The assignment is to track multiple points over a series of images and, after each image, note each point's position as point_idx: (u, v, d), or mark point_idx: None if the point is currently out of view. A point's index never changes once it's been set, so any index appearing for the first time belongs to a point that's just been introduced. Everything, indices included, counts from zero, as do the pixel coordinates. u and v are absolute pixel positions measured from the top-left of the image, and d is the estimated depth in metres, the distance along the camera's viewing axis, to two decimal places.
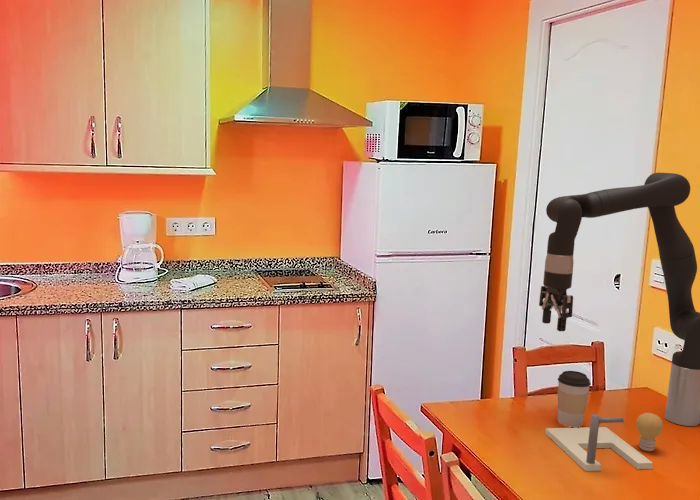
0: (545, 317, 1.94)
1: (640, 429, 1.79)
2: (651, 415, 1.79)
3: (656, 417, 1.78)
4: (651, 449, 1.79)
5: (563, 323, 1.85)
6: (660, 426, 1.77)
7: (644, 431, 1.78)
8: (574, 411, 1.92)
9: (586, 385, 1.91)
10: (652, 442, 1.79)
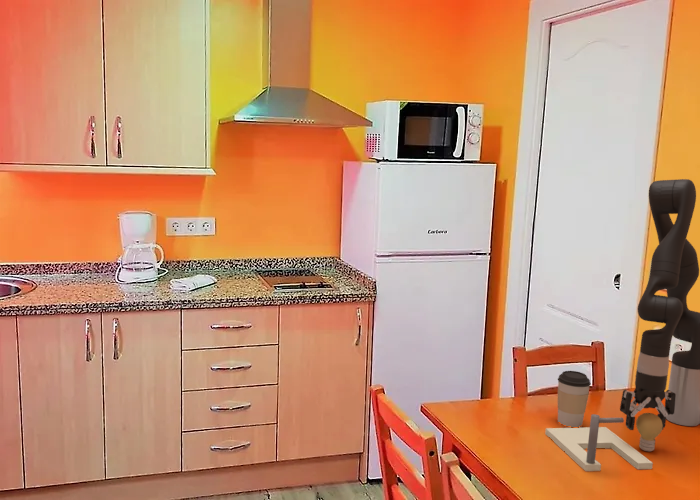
0: None
1: (640, 429, 1.79)
2: (651, 415, 1.79)
3: (656, 417, 1.78)
4: (651, 449, 1.79)
5: None
6: (660, 426, 1.77)
7: (644, 431, 1.78)
8: (574, 411, 1.92)
9: (586, 385, 1.91)
10: (652, 442, 1.79)
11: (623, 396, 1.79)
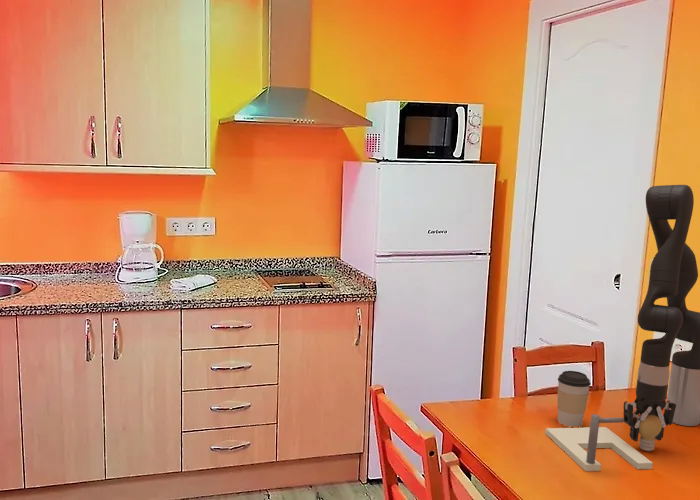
0: None
1: (639, 429, 1.79)
2: (650, 415, 1.79)
3: (655, 417, 1.78)
4: (651, 449, 1.79)
5: None
6: (659, 426, 1.77)
7: (643, 431, 1.78)
8: (574, 411, 1.92)
9: (586, 385, 1.91)
10: (652, 442, 1.79)
11: (625, 408, 1.79)
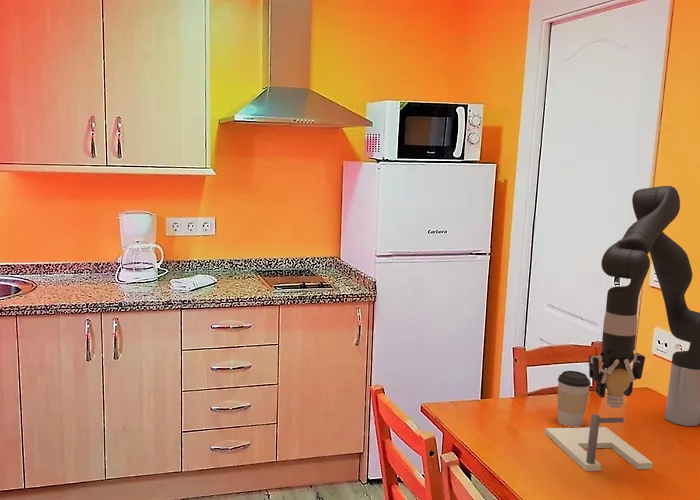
0: None
1: (606, 384, 1.65)
2: None
3: (623, 370, 1.65)
4: (619, 405, 1.66)
5: None
6: (627, 380, 1.64)
7: (610, 386, 1.65)
8: (574, 411, 1.92)
9: (586, 385, 1.91)
10: (620, 397, 1.65)
11: (590, 362, 1.65)
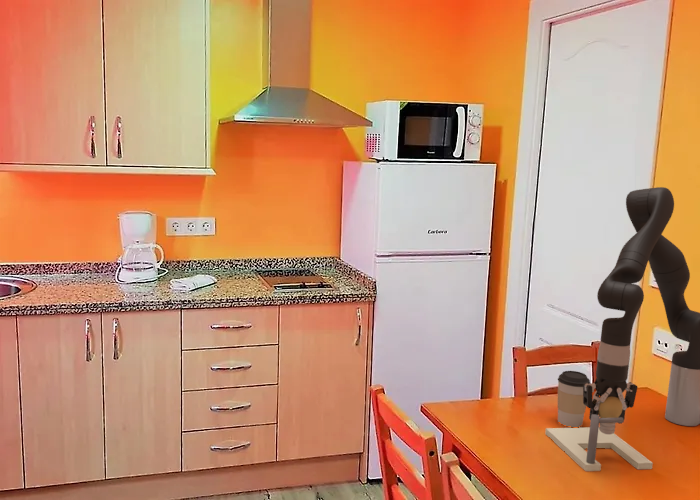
0: None
1: (599, 411, 1.72)
2: None
3: (615, 398, 1.71)
4: (611, 432, 1.72)
5: None
6: (619, 408, 1.70)
7: (603, 413, 1.71)
8: (574, 411, 1.92)
9: None
10: (612, 424, 1.72)
11: (584, 389, 1.72)
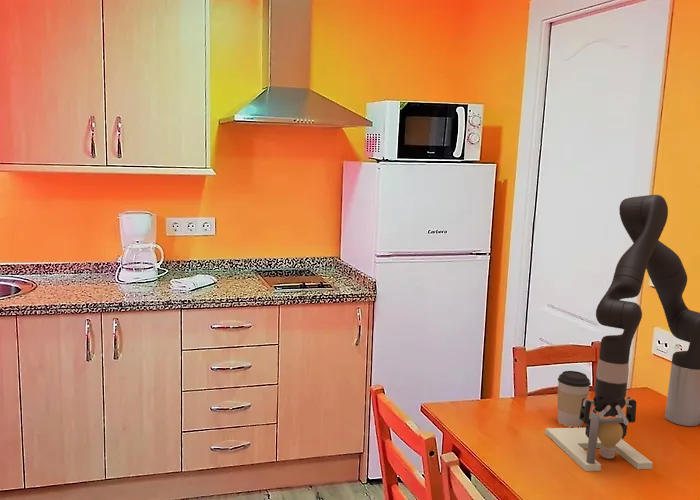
0: None
1: (599, 436, 1.73)
2: None
3: (616, 423, 1.72)
4: (611, 456, 1.73)
5: None
6: (620, 433, 1.71)
7: (603, 438, 1.72)
8: (574, 411, 1.92)
9: (586, 385, 1.91)
10: (612, 449, 1.73)
11: (582, 404, 1.73)
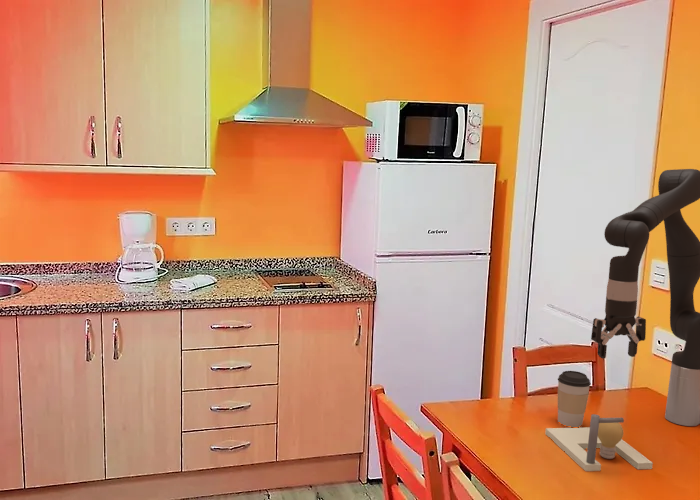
0: None
1: (600, 436, 1.73)
2: None
3: (616, 423, 1.72)
4: (611, 457, 1.73)
5: None
6: (620, 433, 1.71)
7: (604, 438, 1.72)
8: (574, 411, 1.92)
9: (586, 385, 1.91)
10: (612, 449, 1.73)
11: (594, 324, 1.77)
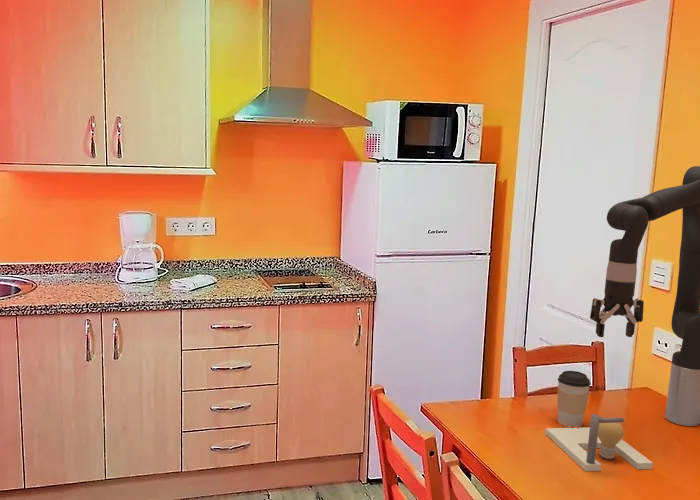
0: None
1: (600, 436, 1.73)
2: None
3: (616, 423, 1.72)
4: (611, 457, 1.73)
5: None
6: (620, 433, 1.71)
7: (604, 438, 1.72)
8: (574, 411, 1.92)
9: (586, 385, 1.91)
10: (612, 449, 1.73)
11: (593, 304, 1.84)
